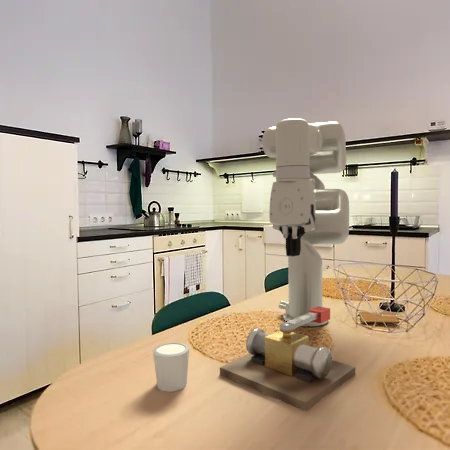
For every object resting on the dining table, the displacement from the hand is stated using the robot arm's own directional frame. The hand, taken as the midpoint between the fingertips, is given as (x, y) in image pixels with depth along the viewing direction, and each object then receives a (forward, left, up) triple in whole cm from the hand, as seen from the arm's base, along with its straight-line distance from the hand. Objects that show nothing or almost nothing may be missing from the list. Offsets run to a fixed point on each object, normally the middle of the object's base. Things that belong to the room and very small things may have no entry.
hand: (293, 255), depth 88 cm
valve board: (+6, -12, -22) cm, 26 cm away
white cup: (-8, -30, -22) cm, 38 cm away
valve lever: (+6, -5, -14) cm, 16 cm away
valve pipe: (+7, -12, -20) cm, 25 cm away
